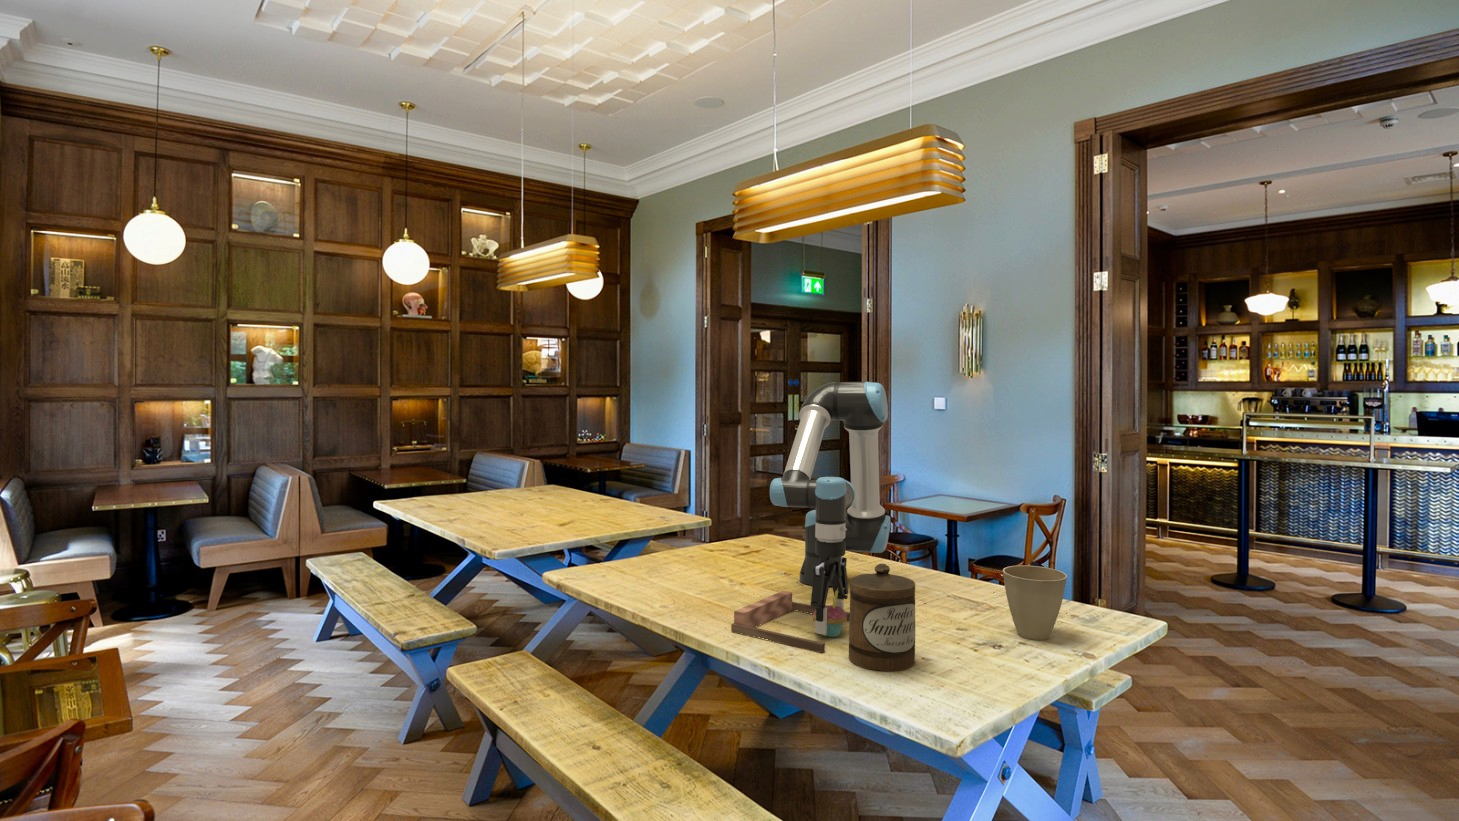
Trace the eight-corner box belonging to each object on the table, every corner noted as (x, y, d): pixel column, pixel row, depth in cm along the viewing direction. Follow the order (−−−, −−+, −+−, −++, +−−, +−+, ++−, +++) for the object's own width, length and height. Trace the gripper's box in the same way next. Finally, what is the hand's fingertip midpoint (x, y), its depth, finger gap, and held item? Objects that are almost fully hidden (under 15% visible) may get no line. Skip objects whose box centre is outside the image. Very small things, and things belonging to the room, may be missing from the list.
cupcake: (850, 631, 192) (851, 584, 191) (841, 641, 184) (841, 592, 184) (818, 626, 195) (819, 580, 195) (807, 636, 187) (808, 588, 187)
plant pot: (989, 630, 193) (990, 568, 192) (1033, 623, 199) (1034, 563, 198) (1033, 649, 179) (1034, 582, 179) (1079, 640, 185) (1080, 576, 185)
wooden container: (872, 676, 162) (873, 574, 161) (836, 653, 176) (837, 560, 175) (928, 666, 168) (929, 568, 167) (889, 645, 182) (890, 554, 181)
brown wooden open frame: (785, 607, 212) (785, 589, 212) (870, 624, 197) (870, 605, 197) (731, 631, 191) (731, 612, 191) (822, 653, 176) (822, 631, 176)
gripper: (823, 548, 178) (822, 643, 179) (862, 534, 195) (861, 621, 196) (796, 544, 182) (795, 637, 183) (836, 531, 200) (835, 615, 200)
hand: (829, 628), depth 190 cm, fingers closed on cupcake, 8 cm apart
